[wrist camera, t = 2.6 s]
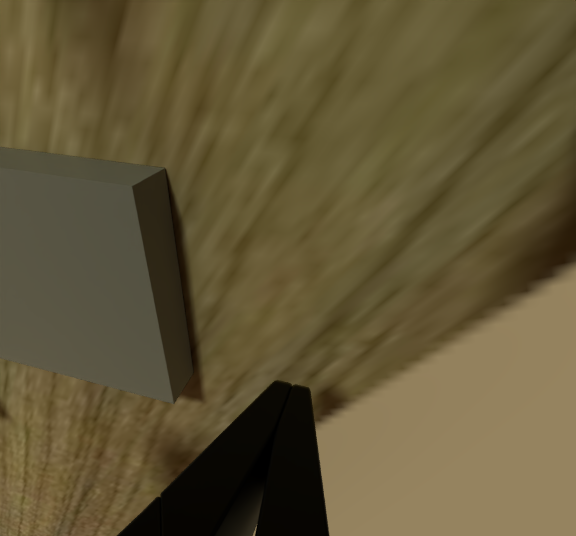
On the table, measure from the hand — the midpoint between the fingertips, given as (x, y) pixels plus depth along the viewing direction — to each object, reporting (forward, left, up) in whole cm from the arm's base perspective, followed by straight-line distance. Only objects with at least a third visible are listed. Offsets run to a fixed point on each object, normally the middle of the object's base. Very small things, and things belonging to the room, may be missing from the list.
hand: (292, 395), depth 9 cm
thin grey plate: (+10, 0, -3) cm, 11 cm away
